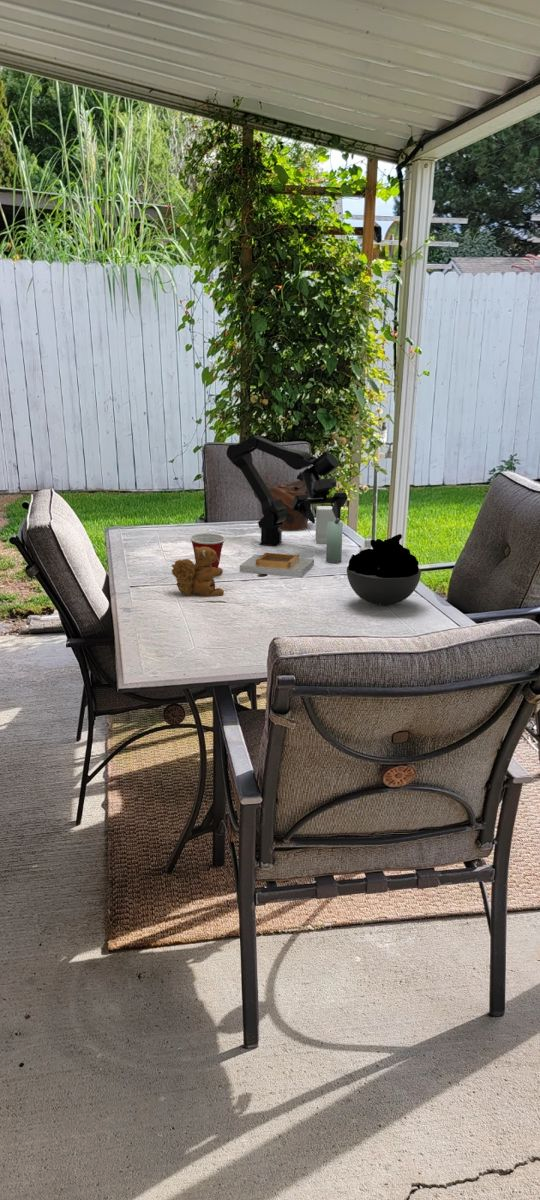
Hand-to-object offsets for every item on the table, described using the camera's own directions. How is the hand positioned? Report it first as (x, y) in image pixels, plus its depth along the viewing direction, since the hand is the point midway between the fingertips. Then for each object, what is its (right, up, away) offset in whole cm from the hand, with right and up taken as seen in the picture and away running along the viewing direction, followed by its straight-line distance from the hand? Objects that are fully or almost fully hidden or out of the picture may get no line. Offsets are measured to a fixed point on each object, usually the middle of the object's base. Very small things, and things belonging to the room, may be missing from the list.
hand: (326, 521), depth 287 cm
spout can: (+2, -13, -2) cm, 14 cm away
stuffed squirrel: (-39, -24, -41) cm, 62 cm away
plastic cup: (-38, -18, -21) cm, 47 cm away
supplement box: (+1, -5, +27) cm, 27 cm away
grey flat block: (-16, -16, -12) cm, 26 cm away
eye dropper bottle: (+12, -17, -16) cm, 26 cm away
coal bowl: (+12, -27, -50) cm, 58 cm away
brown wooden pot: (-11, +2, +51) cm, 53 cm away
